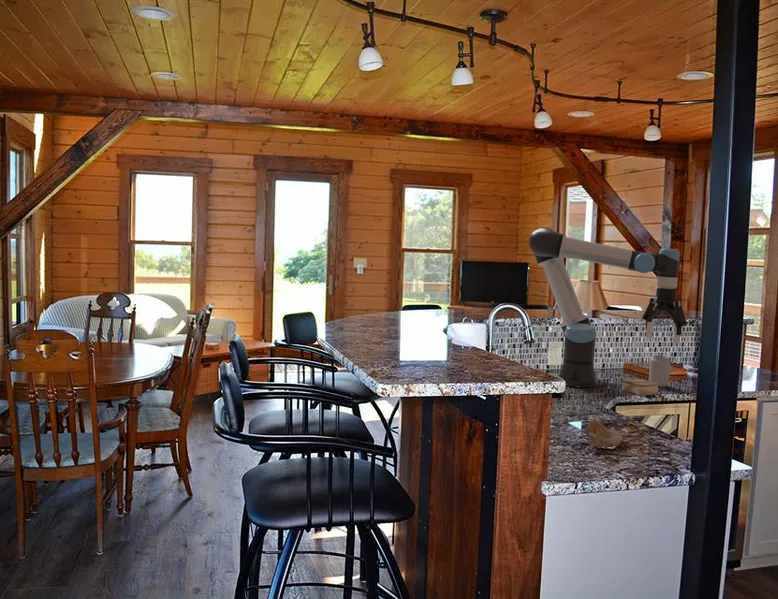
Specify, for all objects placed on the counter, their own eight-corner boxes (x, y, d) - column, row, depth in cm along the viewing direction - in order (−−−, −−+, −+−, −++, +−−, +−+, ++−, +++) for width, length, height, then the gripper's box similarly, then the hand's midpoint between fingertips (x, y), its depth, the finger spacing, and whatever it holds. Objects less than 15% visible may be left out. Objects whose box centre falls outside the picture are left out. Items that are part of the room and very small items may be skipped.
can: (665, 384, 288) (667, 355, 287) (670, 388, 280) (673, 358, 279) (646, 383, 288) (648, 354, 287) (651, 387, 281) (653, 357, 280)
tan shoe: (576, 451, 190) (579, 415, 189) (604, 435, 207) (606, 402, 206) (607, 459, 185) (611, 421, 184) (633, 442, 202) (636, 407, 201)
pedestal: (622, 390, 272) (623, 380, 272) (639, 388, 276) (640, 378, 276) (640, 395, 264) (641, 385, 264) (657, 394, 268) (658, 383, 268)
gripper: (699, 290, 271) (694, 345, 273) (649, 284, 293) (645, 335, 295) (686, 290, 268) (681, 345, 270) (636, 284, 290) (631, 335, 292)
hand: (662, 340), depth 283 cm, fingers open, 13 cm apart
